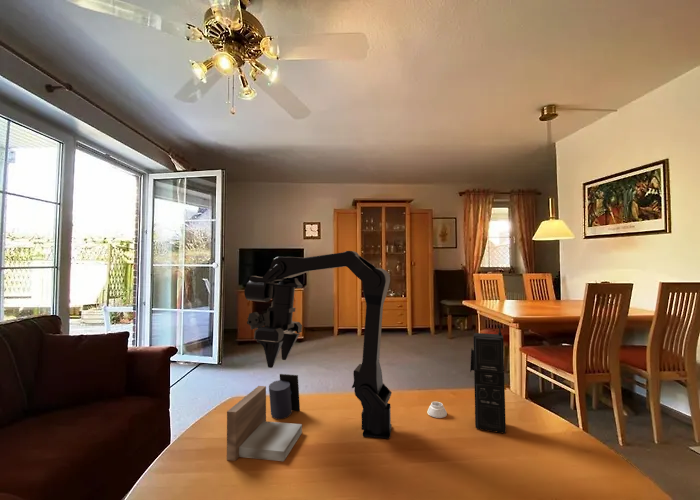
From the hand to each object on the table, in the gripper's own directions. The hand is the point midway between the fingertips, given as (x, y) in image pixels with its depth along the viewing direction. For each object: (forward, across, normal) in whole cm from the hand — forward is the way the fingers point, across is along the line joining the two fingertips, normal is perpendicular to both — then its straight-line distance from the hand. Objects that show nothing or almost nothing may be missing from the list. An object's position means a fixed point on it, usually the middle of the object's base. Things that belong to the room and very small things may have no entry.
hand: (277, 363), depth 89 cm
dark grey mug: (+15, -5, +1) cm, 16 cm away
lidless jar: (+12, -12, +42) cm, 45 cm away
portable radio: (+11, -7, +54) cm, 56 cm away
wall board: (+15, +10, +4) cm, 19 cm away
